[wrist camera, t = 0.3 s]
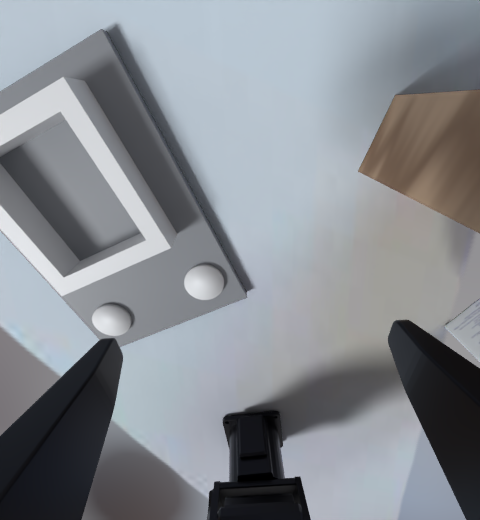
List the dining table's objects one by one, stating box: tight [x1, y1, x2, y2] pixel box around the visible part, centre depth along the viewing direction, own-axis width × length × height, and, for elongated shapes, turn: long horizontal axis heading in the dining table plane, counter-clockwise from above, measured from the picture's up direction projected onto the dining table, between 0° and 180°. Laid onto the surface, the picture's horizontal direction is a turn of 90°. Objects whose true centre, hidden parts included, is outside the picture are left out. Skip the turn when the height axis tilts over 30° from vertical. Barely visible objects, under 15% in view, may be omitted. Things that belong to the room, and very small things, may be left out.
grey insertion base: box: [0, 29, 247, 347], centre depth 21 cm, size 20×14×3 cm
